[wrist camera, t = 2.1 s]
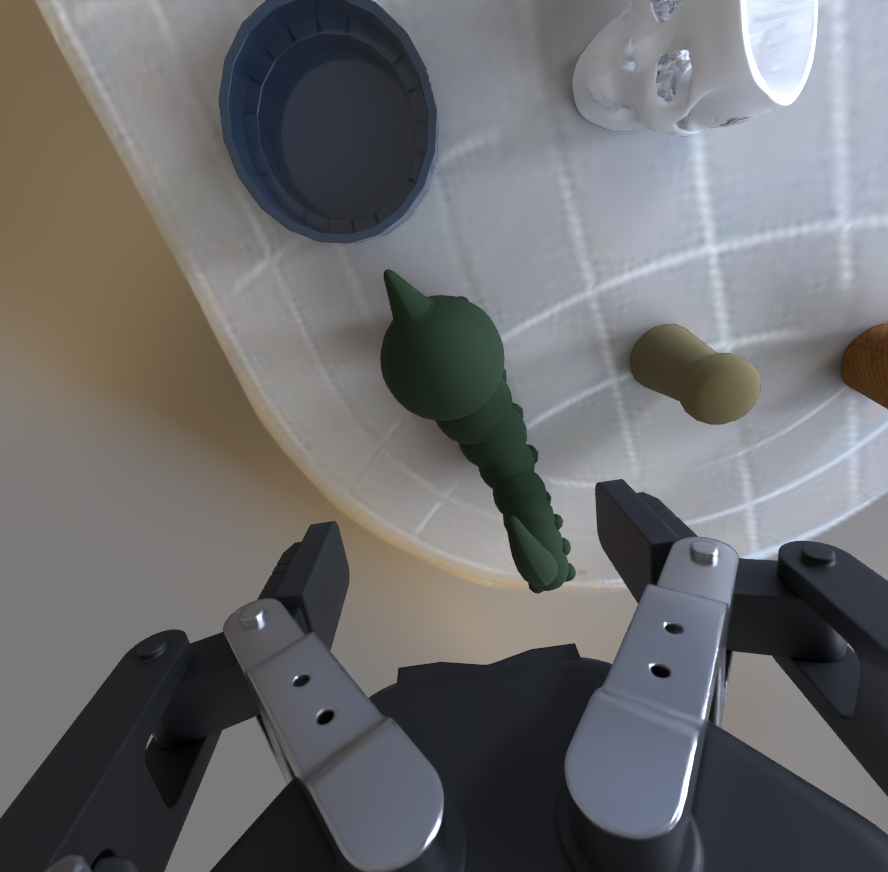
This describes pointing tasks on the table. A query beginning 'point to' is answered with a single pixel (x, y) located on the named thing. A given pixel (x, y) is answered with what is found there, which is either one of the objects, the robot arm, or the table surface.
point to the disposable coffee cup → (868, 364)
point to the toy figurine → (474, 415)
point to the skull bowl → (695, 64)
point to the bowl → (329, 117)
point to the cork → (695, 374)
